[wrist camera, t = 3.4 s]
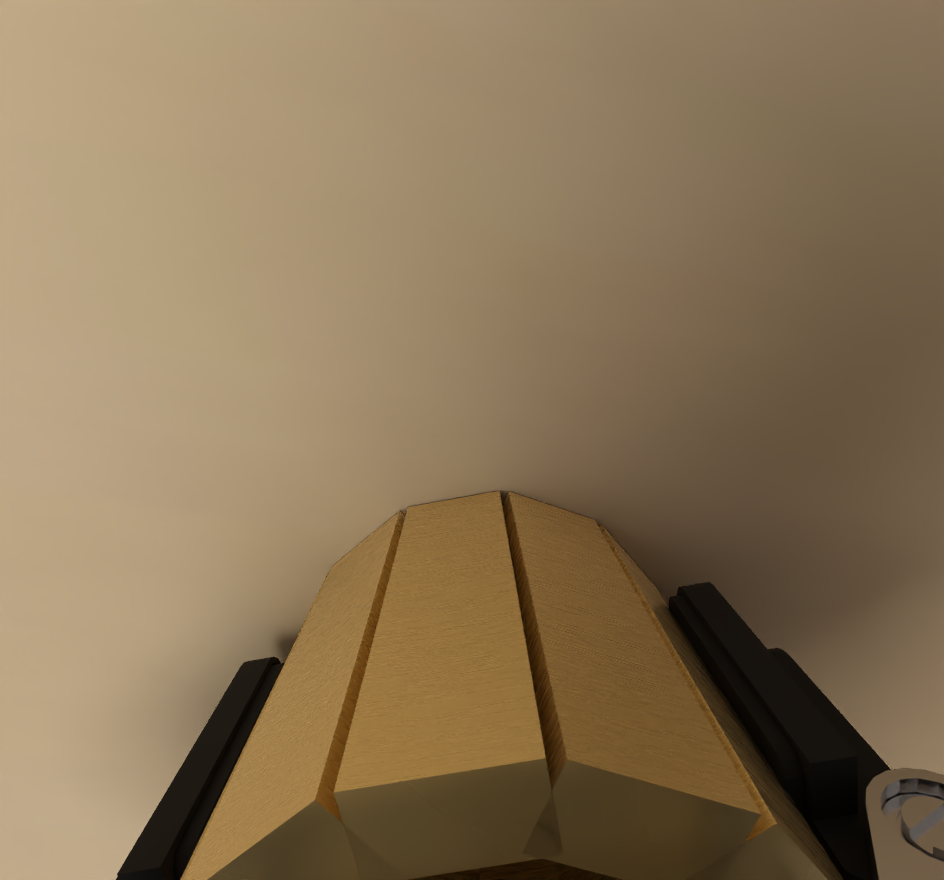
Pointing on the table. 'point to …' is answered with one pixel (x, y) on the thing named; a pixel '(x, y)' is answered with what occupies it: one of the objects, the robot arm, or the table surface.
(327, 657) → the ring
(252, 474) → the table surface
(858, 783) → the robot arm
